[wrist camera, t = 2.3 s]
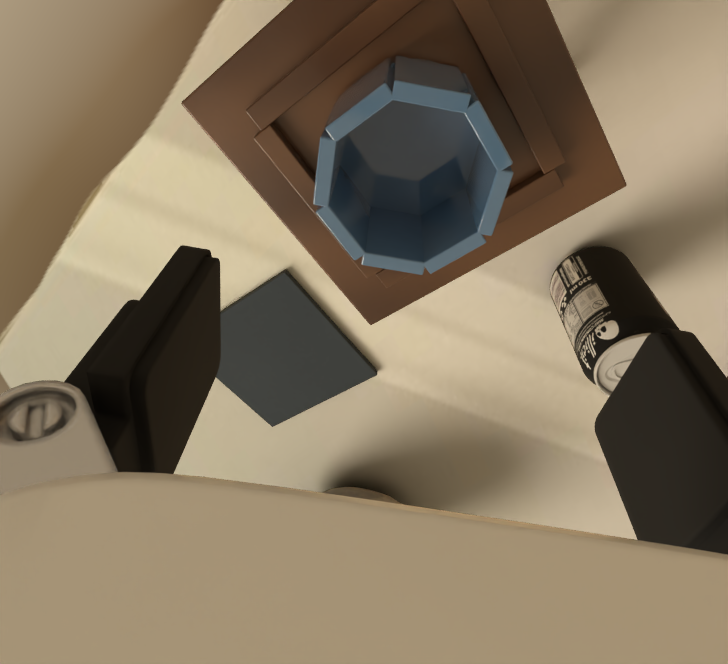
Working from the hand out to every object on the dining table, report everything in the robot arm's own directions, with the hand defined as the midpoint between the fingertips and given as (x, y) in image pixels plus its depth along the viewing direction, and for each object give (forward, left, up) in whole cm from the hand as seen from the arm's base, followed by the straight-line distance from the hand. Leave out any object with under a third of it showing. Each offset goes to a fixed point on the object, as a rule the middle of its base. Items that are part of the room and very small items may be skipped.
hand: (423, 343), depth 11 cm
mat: (+14, -24, -30) cm, 41 cm away
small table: (0, 0, -30) cm, 30 cm away
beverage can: (+22, +4, -30) cm, 37 cm away
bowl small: (0, 0, -14) cm, 14 cm away
